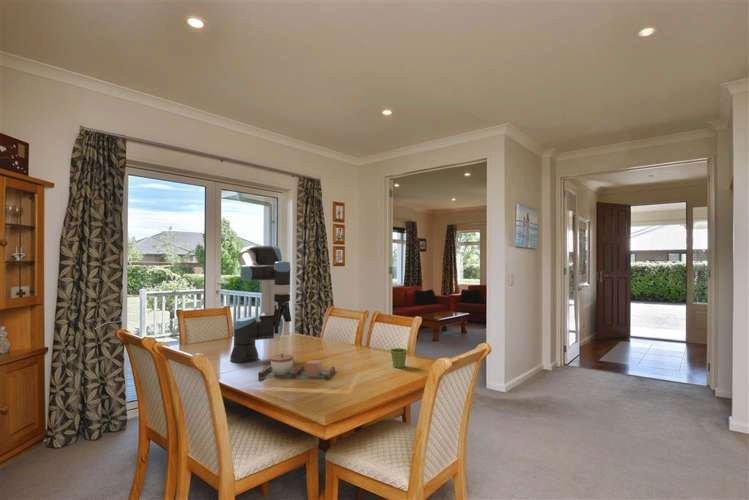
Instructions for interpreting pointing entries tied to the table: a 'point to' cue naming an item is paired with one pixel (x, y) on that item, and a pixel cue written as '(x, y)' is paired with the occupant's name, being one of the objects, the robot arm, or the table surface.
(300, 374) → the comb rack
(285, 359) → the lidded jar
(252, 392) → the table surface
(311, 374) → the terracotta block
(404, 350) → the plant pot
